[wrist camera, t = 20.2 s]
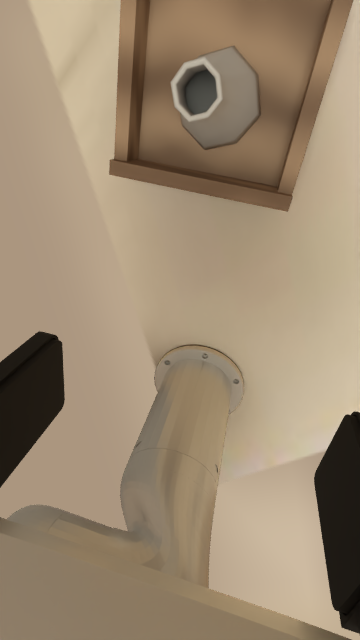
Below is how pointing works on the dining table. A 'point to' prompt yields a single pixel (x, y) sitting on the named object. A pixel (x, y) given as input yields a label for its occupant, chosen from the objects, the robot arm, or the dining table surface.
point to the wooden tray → (274, 86)
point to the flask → (217, 97)
